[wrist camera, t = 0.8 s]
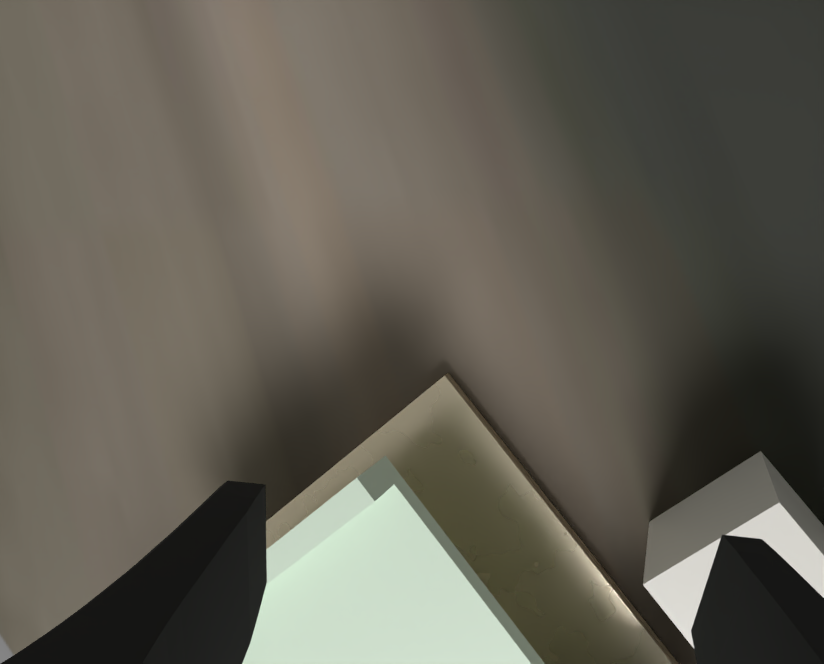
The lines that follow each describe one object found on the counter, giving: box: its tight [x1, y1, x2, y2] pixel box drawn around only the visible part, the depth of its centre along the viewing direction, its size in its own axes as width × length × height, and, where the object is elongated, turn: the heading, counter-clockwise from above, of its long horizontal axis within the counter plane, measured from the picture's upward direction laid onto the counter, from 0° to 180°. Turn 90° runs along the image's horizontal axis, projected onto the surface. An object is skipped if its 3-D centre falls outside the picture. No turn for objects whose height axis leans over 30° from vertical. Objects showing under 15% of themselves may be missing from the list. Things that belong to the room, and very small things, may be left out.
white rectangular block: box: [643, 451, 824, 648], centre depth 25 cm, size 4×5×6 cm
